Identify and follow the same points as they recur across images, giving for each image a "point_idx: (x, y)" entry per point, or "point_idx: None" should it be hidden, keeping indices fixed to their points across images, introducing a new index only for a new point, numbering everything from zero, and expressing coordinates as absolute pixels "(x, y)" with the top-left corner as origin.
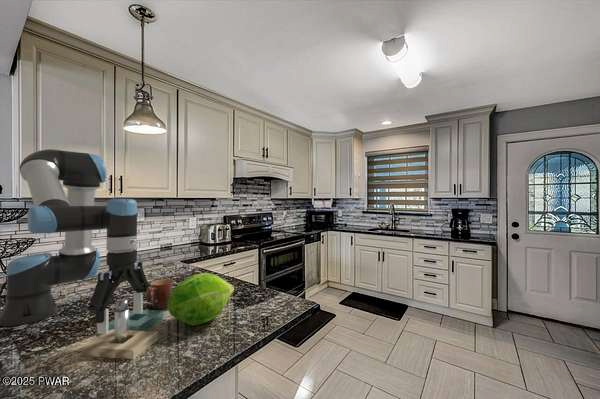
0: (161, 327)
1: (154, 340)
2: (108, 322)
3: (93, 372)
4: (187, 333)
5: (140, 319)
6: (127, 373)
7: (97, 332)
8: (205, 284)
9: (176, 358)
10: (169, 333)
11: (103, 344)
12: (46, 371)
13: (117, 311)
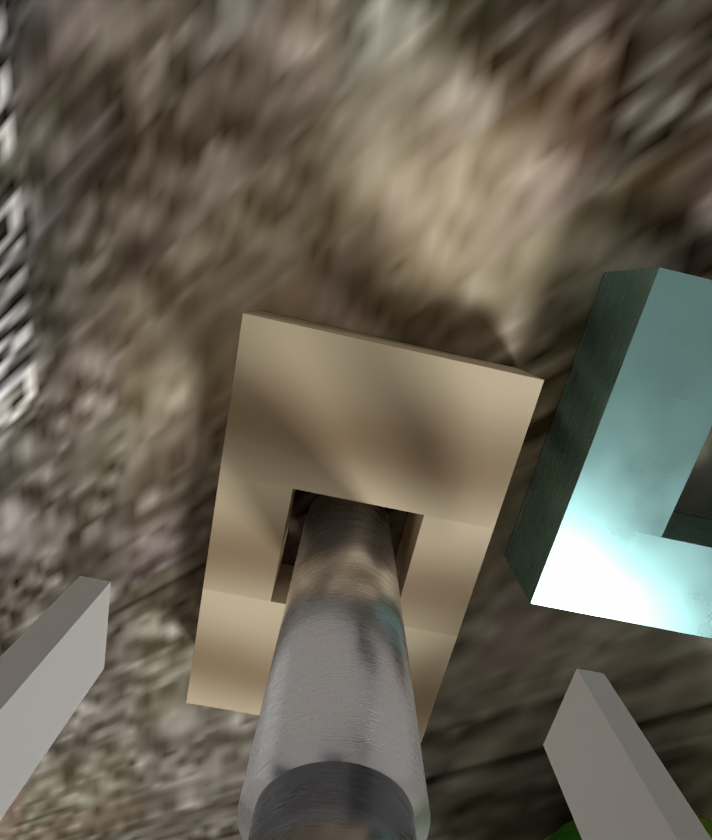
0: (598, 649)
1: None
2: (23, 782)
3: (82, 514)
4: (468, 811)
5: (676, 554)
6: None
7: (73, 586)
8: None
9: (210, 831)
10: (490, 723)
11: (270, 471)
12: (72, 192)
13: (251, 823)
